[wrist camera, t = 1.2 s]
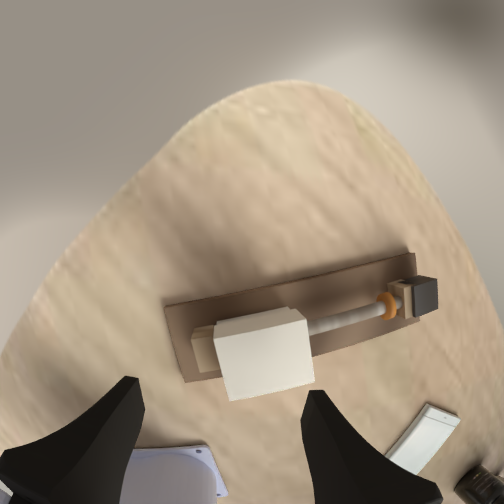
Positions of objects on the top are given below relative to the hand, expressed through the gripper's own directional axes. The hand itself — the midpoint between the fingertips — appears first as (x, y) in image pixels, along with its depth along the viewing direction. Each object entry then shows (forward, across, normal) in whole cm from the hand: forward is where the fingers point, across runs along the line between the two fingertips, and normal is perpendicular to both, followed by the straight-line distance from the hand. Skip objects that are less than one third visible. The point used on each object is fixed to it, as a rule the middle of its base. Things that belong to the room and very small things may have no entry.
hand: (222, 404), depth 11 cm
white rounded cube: (+9, -2, +2) cm, 9 cm away
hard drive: (+8, -22, +19) cm, 30 cm away
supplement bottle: (+4, -42, +34) cm, 54 cm away
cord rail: (+10, -6, +1) cm, 12 cm away
